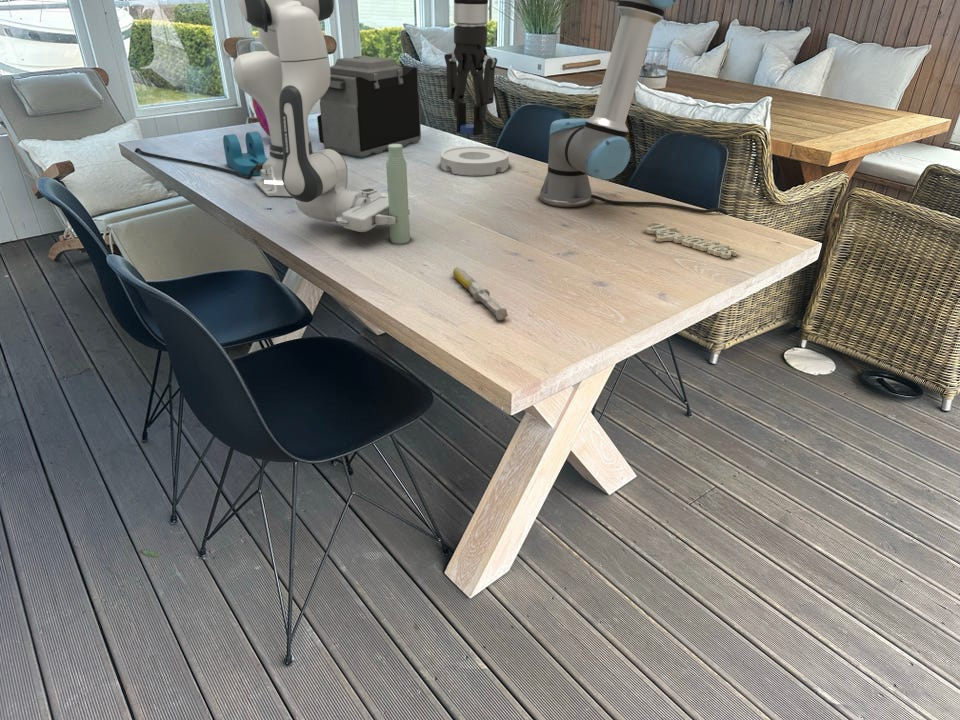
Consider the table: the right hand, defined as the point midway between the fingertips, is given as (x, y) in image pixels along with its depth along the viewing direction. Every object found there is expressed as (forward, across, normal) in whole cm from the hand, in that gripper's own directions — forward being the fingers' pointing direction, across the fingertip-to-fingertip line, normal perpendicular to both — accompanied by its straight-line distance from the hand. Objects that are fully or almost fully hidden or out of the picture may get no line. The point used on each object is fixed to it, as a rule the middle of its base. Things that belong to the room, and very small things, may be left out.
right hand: (469, 132), depth 164 cm
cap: (-1, 0, 0) cm, 1 cm away
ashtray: (+25, +38, -54) cm, 71 cm away
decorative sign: (+25, -47, -29) cm, 61 cm away
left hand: (+19, +10, +14) cm, 26 cm away
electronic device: (+25, +86, -53) cm, 105 cm away
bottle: (+26, +11, +14) cm, 31 cm away
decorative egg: (+26, +119, -39) cm, 128 cm away
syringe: (+26, -24, +29) cm, 46 cm away
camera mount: (+26, +95, -6) cm, 99 cm away
